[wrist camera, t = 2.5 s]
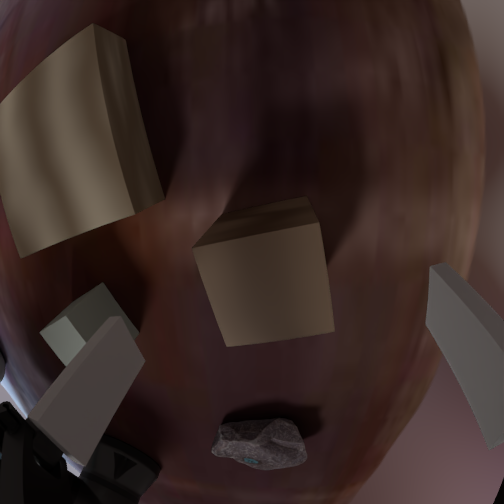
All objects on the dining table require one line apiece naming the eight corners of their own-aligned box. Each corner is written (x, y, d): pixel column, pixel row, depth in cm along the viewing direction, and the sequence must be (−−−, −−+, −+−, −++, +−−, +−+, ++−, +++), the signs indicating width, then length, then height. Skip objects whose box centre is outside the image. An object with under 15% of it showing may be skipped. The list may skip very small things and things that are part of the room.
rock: (203, 413, 28) (194, 444, 24) (301, 408, 26) (301, 442, 22) (224, 445, 31) (218, 471, 27) (308, 441, 29) (308, 470, 25)
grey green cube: (105, 345, 26) (78, 380, 21) (73, 301, 25) (39, 332, 19) (139, 332, 25) (111, 373, 19) (103, 281, 23) (65, 315, 17)
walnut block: (243, 288, 22) (226, 346, 15) (222, 213, 20) (191, 248, 13) (320, 274, 20) (334, 331, 14) (306, 195, 18) (319, 222, 12)
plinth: (54, 239, 23) (20, 258, 18) (24, 115, 18) (-12, 117, 13) (167, 198, 20) (135, 214, 15) (127, 40, 15) (93, 22, 11)
